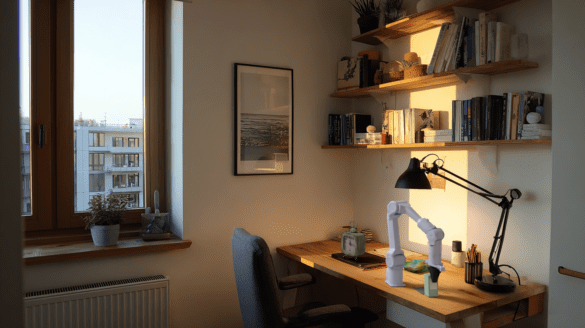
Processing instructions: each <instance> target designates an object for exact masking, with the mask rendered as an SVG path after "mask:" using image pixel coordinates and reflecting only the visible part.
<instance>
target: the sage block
mask: <svg viewBox="0 0 585 328" xmlns="http://www.w3.org/2000/svg"><path fill="white" fill-rule="evenodd" d="M423 275H424V276H423V279H424V281H423V282H424V283H423V284H424V285H423V287H424V291H425V294H424V296H426V297H428V298H429V297H431V298H432V297H435V298H436V297H439V280H438V281H437V283H433V282H432V280H431V276H430V273H424V274H423Z"/></svg>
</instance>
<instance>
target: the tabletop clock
mask: <svg viewBox="0 0 585 328" xmlns="http://www.w3.org/2000/svg"><path fill="white" fill-rule="evenodd" d="M351 223H355V224H356V226H355V225H353V224H352V225H351ZM349 226H350V227H351V228H350V229H349V231H343V232H341V236H340V250H341V253H343V254H344V256H350V257H355V256H356V259H357V260H358V256H361V255H364V254H365V252H366V247H367V244H366V241H367V240H366V235H365V234H364V233H362V232H359V231H358V230H357V227H358V223H357V222H356V221H355V220H351V221H350V222H349ZM356 259H355V260H356Z"/></svg>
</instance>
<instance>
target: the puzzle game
mask: <svg viewBox="0 0 585 328" xmlns="http://www.w3.org/2000/svg"><path fill="white" fill-rule="evenodd" d="M427 267H430V265H428V264H426V259H423V258H417V259H413V260H408V261H406V264H405V265H404V267H403V270H407V271H410V272H413V273H417V274H418V273H422V272H427V271H429V270H428V268H427Z"/></svg>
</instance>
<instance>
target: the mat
mask: <svg viewBox="0 0 585 328" xmlns="http://www.w3.org/2000/svg"><path fill="white" fill-rule="evenodd" d="M412 289H413V290H415V291H417V292H418V293H419V294H421V295H425V291H424V286H413V287H412Z"/></svg>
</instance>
